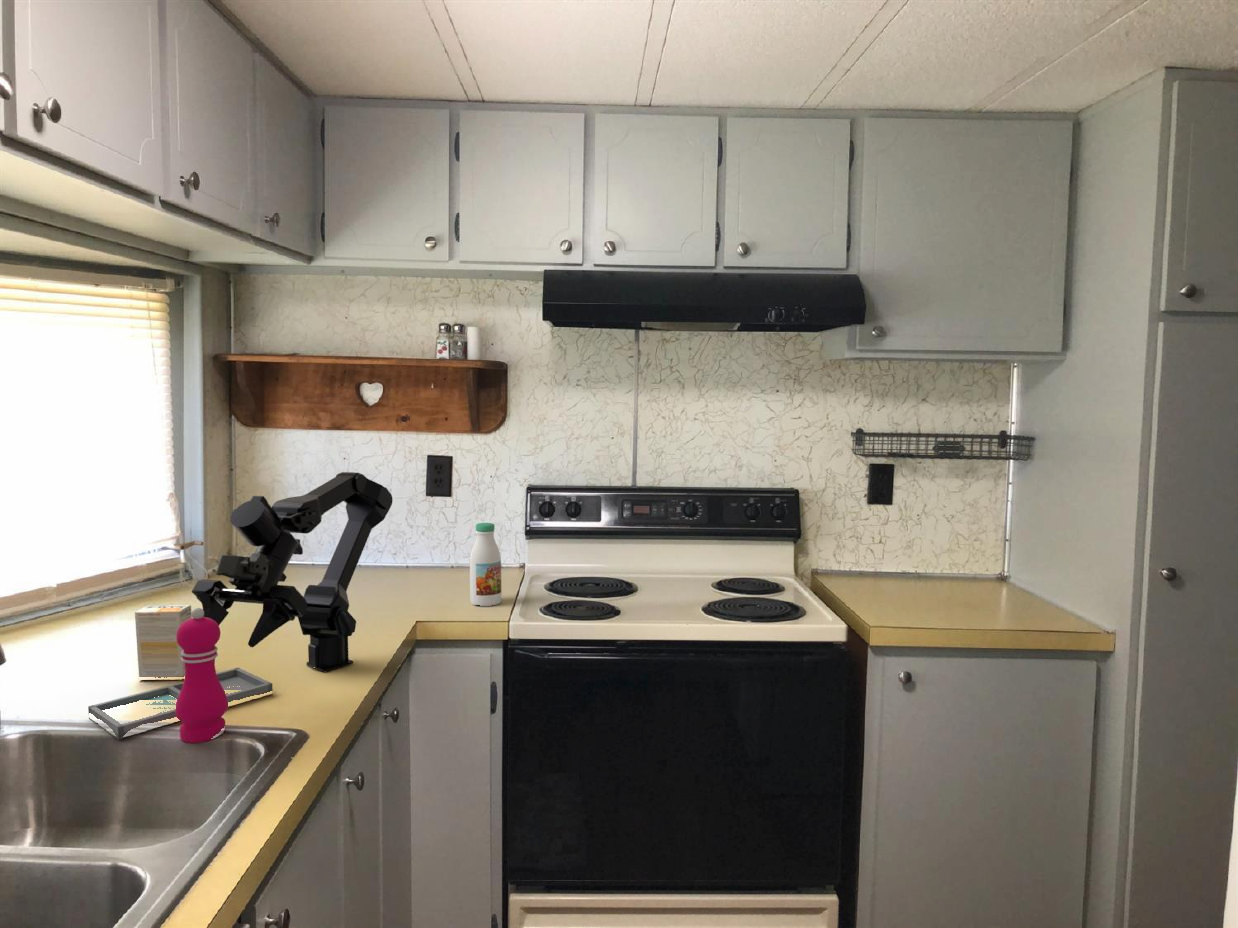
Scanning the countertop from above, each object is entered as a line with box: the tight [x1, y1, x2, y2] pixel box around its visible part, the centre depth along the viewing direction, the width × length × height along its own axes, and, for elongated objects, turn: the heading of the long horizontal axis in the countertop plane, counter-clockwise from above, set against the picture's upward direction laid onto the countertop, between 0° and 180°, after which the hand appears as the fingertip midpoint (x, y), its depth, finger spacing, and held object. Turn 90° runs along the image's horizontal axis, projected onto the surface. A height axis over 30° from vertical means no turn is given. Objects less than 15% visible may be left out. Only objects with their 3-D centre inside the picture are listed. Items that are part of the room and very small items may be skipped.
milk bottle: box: [469, 522, 502, 607], centre depth 204 cm, size 8×8×20 cm
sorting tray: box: [87, 667, 274, 741], centre depth 138 cm, size 24×13×2 cm, turn 140°
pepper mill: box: [175, 607, 229, 744], centre depth 126 cm, size 7×7×20 cm
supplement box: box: [134, 604, 192, 678], centre depth 152 cm, size 8×5×13 cm, turn 92°
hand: (225, 643), depth 131 cm, fingers open, 9 cm apart
